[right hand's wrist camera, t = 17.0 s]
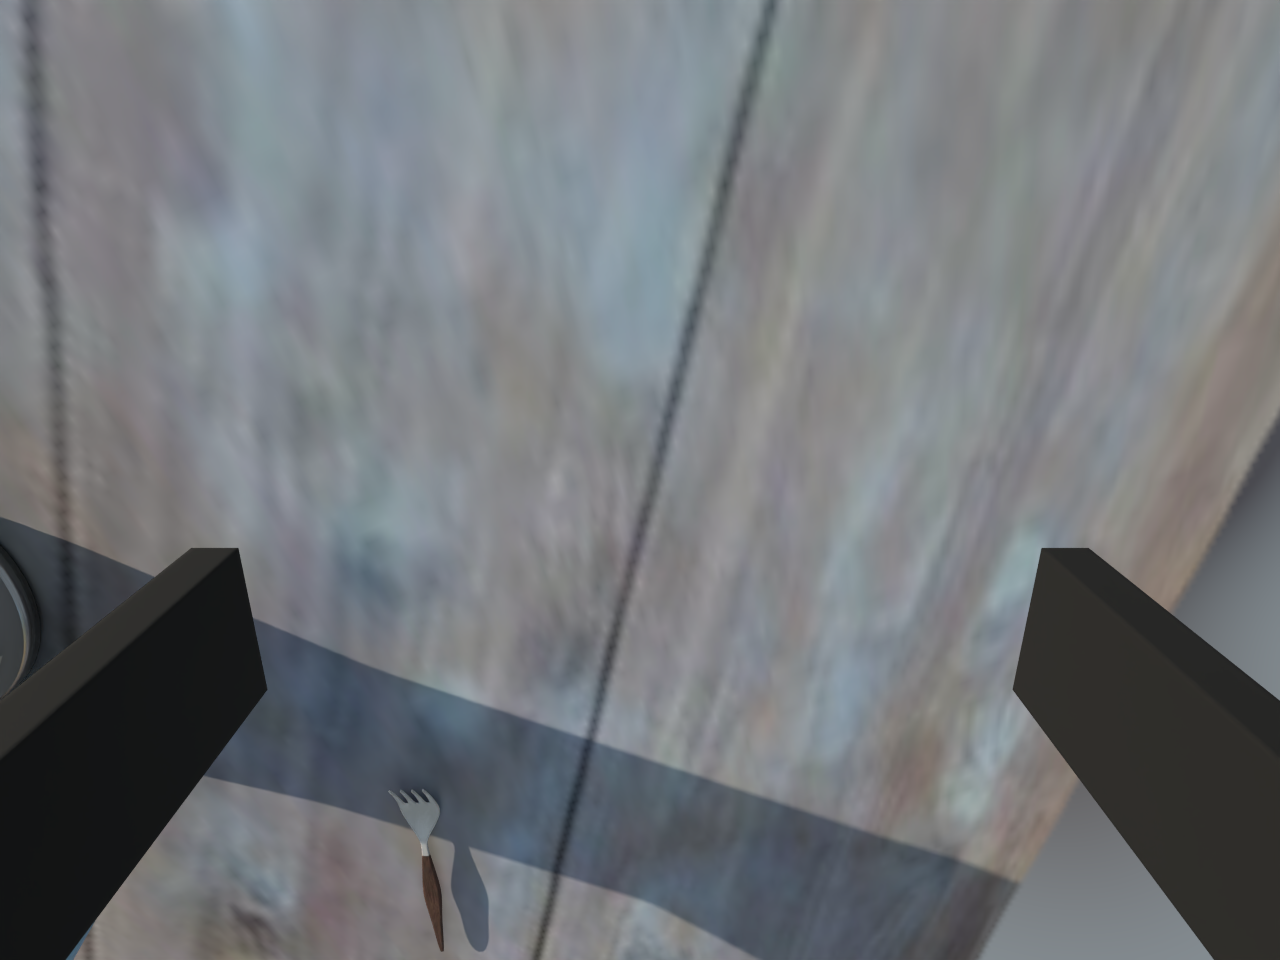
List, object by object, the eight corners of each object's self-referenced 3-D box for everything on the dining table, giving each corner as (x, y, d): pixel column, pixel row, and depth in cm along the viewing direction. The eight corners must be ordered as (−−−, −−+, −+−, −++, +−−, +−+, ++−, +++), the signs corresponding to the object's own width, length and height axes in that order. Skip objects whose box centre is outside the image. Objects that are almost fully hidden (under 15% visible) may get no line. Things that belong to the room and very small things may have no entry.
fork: (426, 945, 56) (418, 971, 54) (394, 768, 50) (384, 791, 48) (461, 944, 56) (455, 970, 54) (434, 767, 50) (426, 790, 48)
